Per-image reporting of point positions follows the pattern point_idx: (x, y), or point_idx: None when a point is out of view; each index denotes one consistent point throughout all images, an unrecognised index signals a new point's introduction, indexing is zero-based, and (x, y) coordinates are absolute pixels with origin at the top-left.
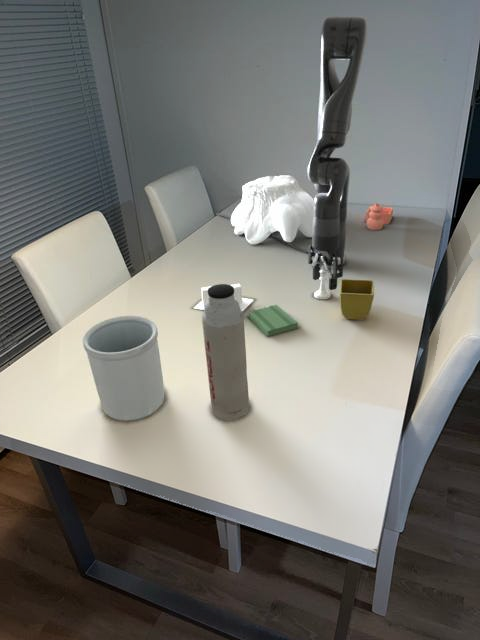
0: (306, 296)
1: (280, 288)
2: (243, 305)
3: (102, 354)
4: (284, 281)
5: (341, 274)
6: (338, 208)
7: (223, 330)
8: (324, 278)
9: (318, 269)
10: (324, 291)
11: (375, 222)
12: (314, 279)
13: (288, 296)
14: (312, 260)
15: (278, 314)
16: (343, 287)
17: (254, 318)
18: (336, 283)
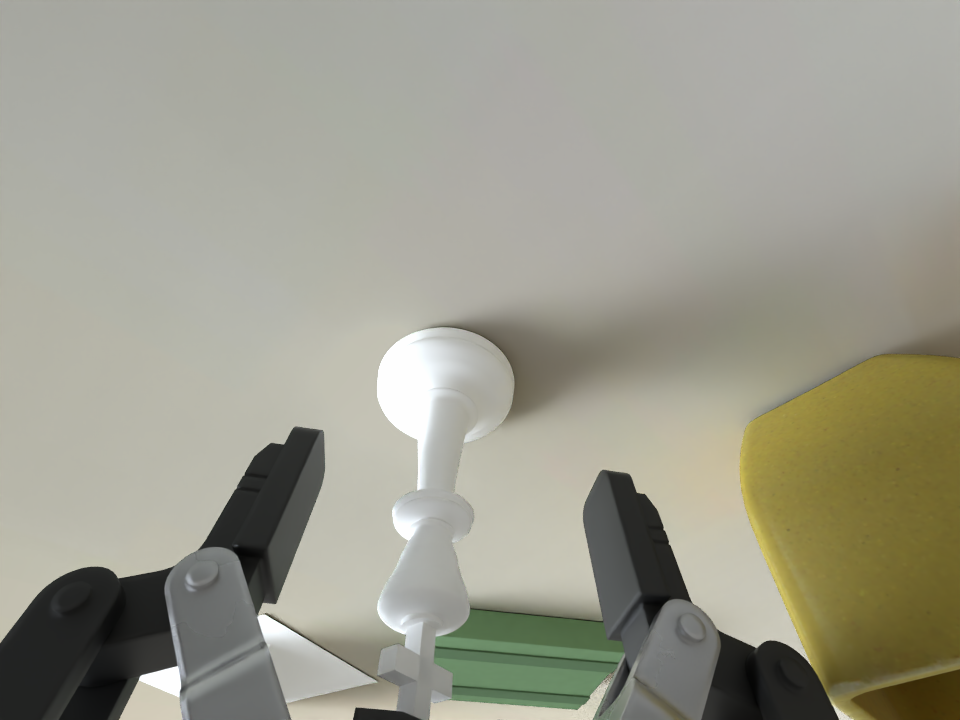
0: (384, 456)
1: (177, 492)
2: (298, 648)
3: None
4: (55, 422)
5: (815, 709)
6: None
7: None
8: (458, 526)
9: (278, 546)
10: (471, 418)
11: None
12: (322, 481)
13: (318, 516)
14: (107, 674)
15: (508, 662)
16: (809, 591)
17: (464, 700)
18: (665, 548)
